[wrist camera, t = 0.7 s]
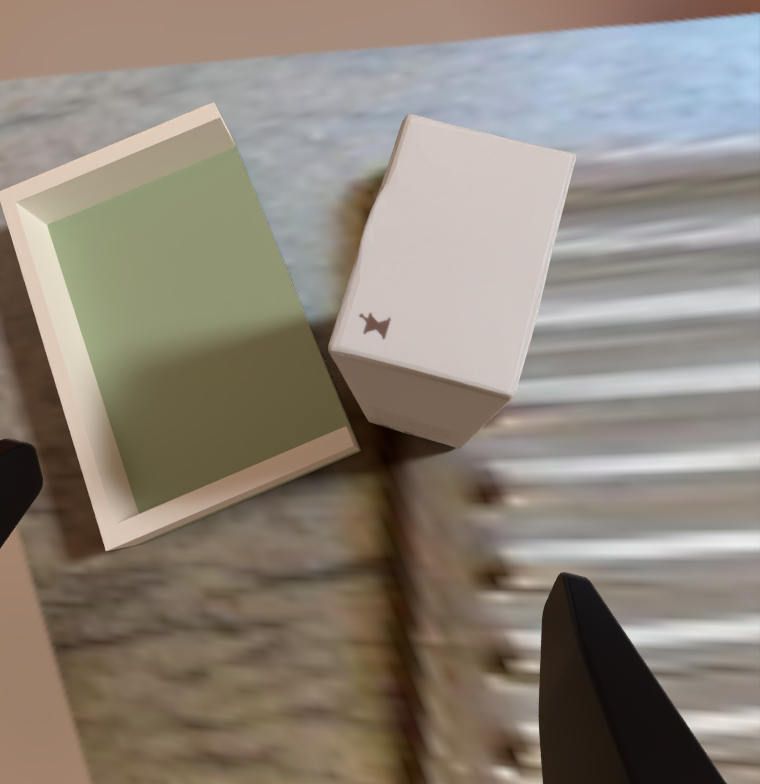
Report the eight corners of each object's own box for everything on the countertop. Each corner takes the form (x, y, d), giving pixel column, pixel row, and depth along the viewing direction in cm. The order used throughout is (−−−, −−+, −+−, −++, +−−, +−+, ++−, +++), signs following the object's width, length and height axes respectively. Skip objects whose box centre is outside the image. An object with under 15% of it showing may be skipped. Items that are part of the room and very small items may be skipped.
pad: (361, 450, 23) (354, 445, 20) (142, 543, 23) (106, 551, 20) (235, 143, 26) (213, 102, 23) (41, 224, 26) (-3, 192, 23)
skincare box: (463, 451, 23) (515, 409, 11) (366, 423, 23) (316, 353, 11) (500, 317, 24) (584, 147, 12) (406, 292, 24) (398, 105, 12)
